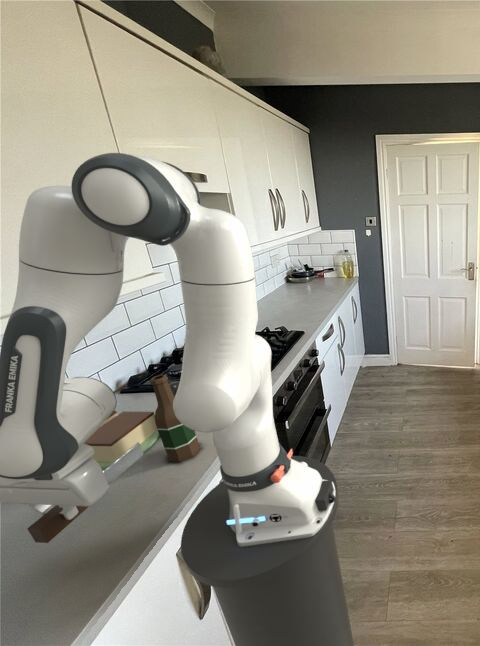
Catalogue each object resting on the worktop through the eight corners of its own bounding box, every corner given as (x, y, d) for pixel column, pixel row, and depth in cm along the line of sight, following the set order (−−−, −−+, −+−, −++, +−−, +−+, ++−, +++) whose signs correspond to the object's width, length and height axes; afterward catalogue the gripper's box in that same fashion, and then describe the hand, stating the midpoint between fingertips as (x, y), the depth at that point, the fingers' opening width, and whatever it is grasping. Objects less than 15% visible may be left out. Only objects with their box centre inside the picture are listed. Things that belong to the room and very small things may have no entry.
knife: (148, 454, 82) (143, 442, 81) (47, 543, 62) (39, 529, 60) (138, 454, 82) (133, 442, 81) (35, 542, 62) (26, 528, 61)
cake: (175, 424, 108) (169, 405, 105) (118, 474, 89) (108, 452, 87) (115, 423, 109) (107, 405, 107) (46, 472, 91) (34, 450, 88)
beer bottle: (204, 440, 101) (180, 367, 92) (196, 459, 94) (170, 381, 85) (173, 447, 98) (146, 372, 90) (163, 466, 92) (132, 387, 83)
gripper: (-50, 469, 58) (-11, 529, 63) (64, 473, 56) (95, 533, 61) (-4, 443, 64) (29, 500, 69) (101, 446, 62) (126, 503, 67)
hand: (61, 516), depth 65 cm, fingers closed on knife, 2 cm apart
